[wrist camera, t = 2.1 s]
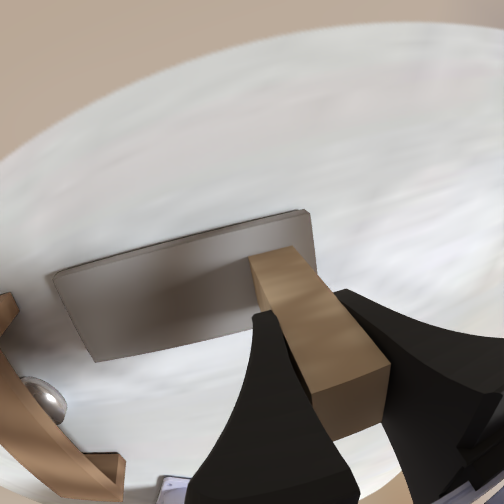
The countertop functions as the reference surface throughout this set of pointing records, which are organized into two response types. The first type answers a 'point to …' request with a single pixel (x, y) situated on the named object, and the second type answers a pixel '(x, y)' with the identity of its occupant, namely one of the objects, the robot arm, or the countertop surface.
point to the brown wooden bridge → (50, 439)
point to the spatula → (234, 310)
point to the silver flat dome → (47, 398)
